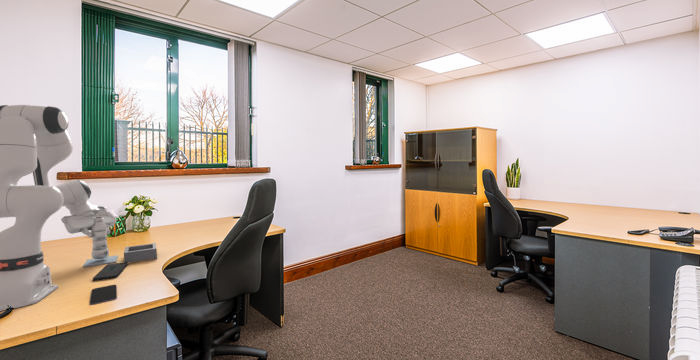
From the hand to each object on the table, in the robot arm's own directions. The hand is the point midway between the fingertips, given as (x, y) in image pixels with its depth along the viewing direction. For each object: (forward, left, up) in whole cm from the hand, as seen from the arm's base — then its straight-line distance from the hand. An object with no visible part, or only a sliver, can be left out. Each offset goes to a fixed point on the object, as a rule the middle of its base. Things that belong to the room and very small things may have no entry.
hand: (100, 234), depth 148 cm
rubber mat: (+1, 0, -13) cm, 13 cm away
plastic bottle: (+1, +1, -12) cm, 12 cm away
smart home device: (-21, -5, -14) cm, 26 cm away
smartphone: (-50, -6, -14) cm, 52 cm away
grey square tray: (-3, -16, -13) cm, 21 cm away
